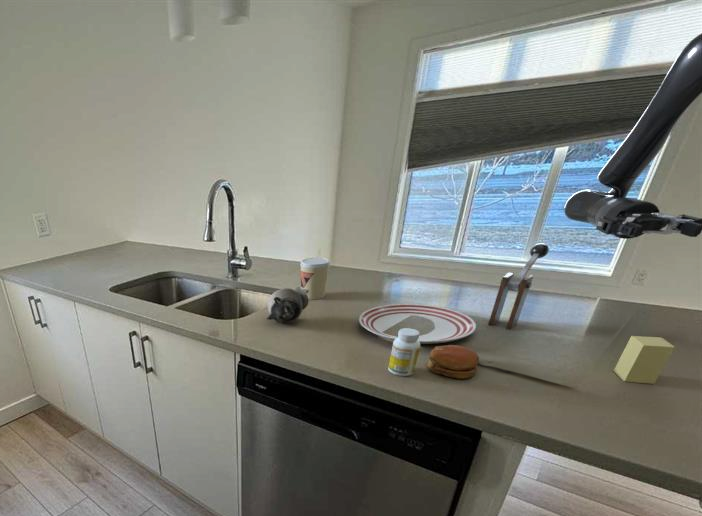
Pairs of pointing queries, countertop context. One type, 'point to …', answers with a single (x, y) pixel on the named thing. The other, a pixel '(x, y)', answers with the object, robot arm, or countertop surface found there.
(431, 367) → the burger
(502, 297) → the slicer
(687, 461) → the countertop surface
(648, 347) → the butter
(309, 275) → the coffee cup
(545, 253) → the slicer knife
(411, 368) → the supplement bottle
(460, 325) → the dinner plate
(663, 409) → the countertop surface
